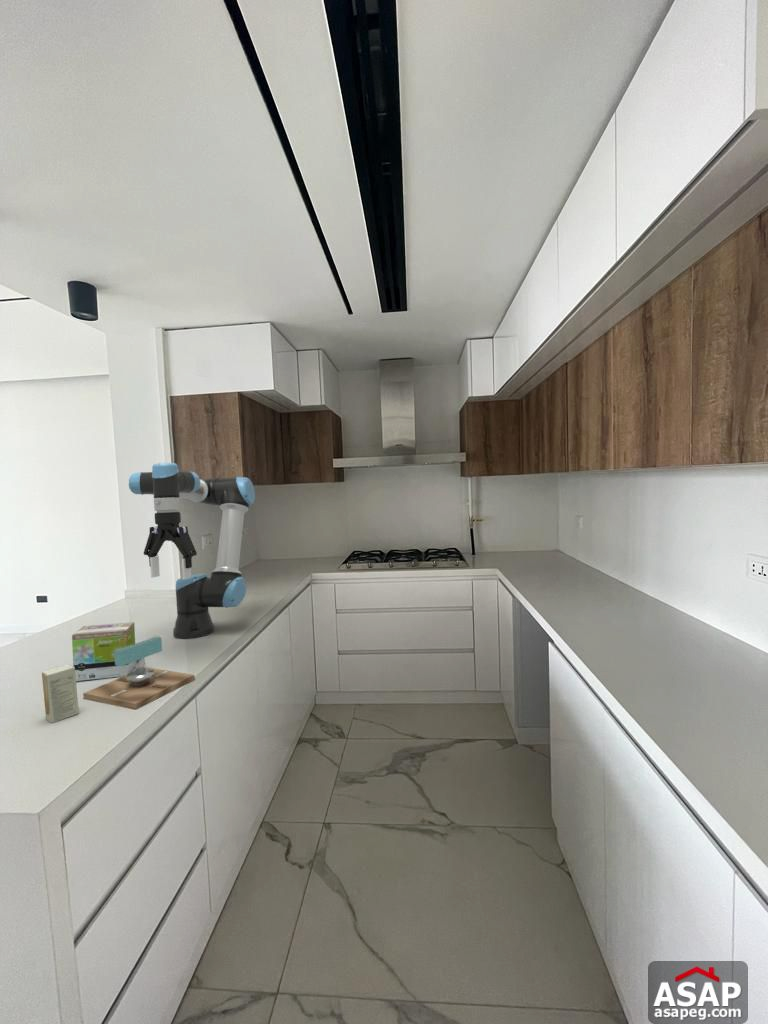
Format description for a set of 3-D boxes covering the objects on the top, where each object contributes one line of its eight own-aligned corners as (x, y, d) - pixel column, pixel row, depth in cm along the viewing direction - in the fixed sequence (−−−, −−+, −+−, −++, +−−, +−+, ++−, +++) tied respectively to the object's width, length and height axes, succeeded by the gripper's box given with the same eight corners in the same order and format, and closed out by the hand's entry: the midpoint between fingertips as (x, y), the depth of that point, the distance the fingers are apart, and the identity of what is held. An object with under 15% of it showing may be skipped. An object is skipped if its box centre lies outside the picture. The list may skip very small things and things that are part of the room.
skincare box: (73, 709, 121) (70, 663, 121) (79, 713, 118) (76, 666, 118) (43, 719, 116) (40, 670, 116) (49, 724, 113) (46, 674, 113)
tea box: (73, 683, 139) (70, 634, 138) (85, 671, 148) (82, 625, 148) (129, 676, 143) (126, 628, 142) (137, 665, 152) (134, 620, 152)
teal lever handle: (110, 684, 128) (108, 646, 128) (152, 667, 140) (150, 633, 140) (127, 688, 125) (125, 649, 125) (168, 670, 137) (166, 635, 137)
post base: (145, 671, 146) (145, 662, 146) (194, 679, 138) (194, 669, 138) (83, 698, 128) (82, 687, 127) (135, 709, 120) (135, 698, 120)
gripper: (129, 512, 150) (132, 578, 151) (188, 511, 140) (191, 581, 141) (149, 511, 157) (152, 574, 158) (206, 510, 147) (209, 577, 148)
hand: (170, 577), depth 149 cm, fingers open, 13 cm apart
